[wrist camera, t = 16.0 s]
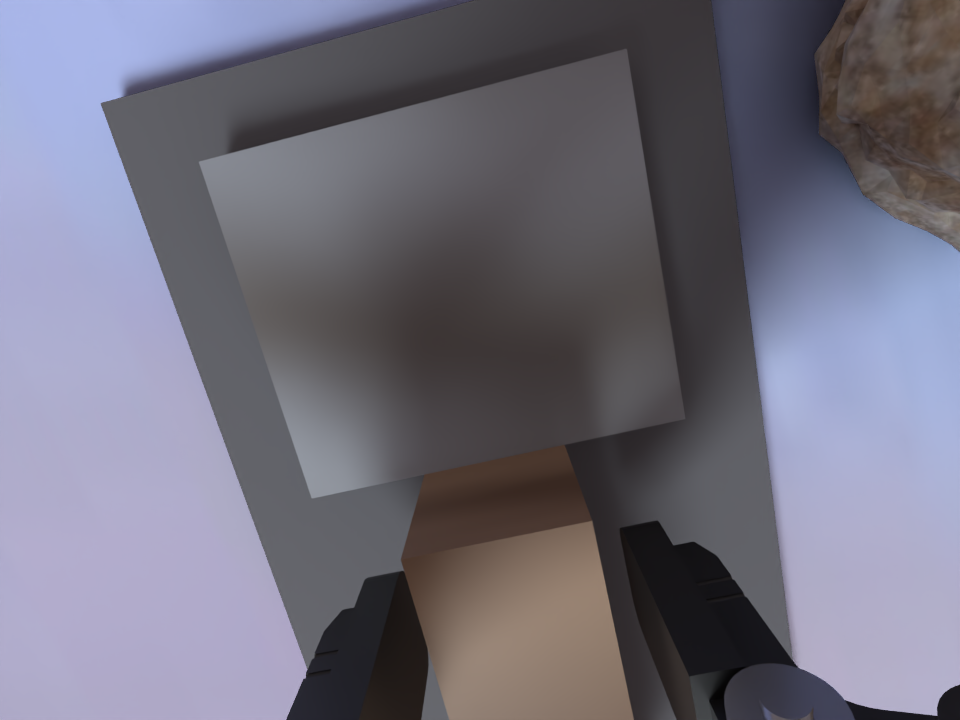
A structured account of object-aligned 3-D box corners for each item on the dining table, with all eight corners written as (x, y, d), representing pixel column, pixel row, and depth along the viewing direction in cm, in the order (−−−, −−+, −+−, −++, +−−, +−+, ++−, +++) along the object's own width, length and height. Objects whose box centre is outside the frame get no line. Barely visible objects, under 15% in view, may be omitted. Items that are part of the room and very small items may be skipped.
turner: (225, 169, 11) (72, 127, 7) (613, 66, 10) (691, -43, 6) (433, 806, 14) (412, 1019, 10) (727, 757, 14) (822, 963, 10)
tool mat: (121, 110, 11) (100, 103, 10) (690, -46, 10) (703, -64, 10) (378, 828, 15) (374, 851, 15) (795, 760, 14) (807, 782, 14)
